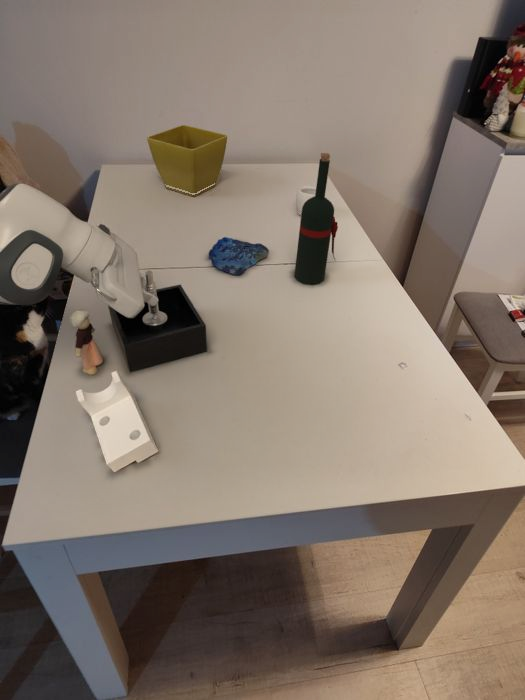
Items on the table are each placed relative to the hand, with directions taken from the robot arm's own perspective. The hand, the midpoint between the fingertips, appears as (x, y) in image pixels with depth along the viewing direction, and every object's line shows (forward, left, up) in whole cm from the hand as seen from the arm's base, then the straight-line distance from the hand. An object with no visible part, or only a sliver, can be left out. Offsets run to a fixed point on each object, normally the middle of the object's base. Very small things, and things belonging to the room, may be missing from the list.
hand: (155, 296), depth 86 cm
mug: (+60, +44, -11) cm, 76 cm away
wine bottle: (+42, +9, -11) cm, 45 cm away
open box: (-1, 0, -10) cm, 10 cm away
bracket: (-13, -22, -11) cm, 28 cm away
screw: (-1, 0, -7) cm, 7 cm away
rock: (+27, +25, -11) cm, 39 cm away
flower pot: (+32, +76, -11) cm, 83 cm away
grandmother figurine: (-14, -3, -11) cm, 18 cm away
